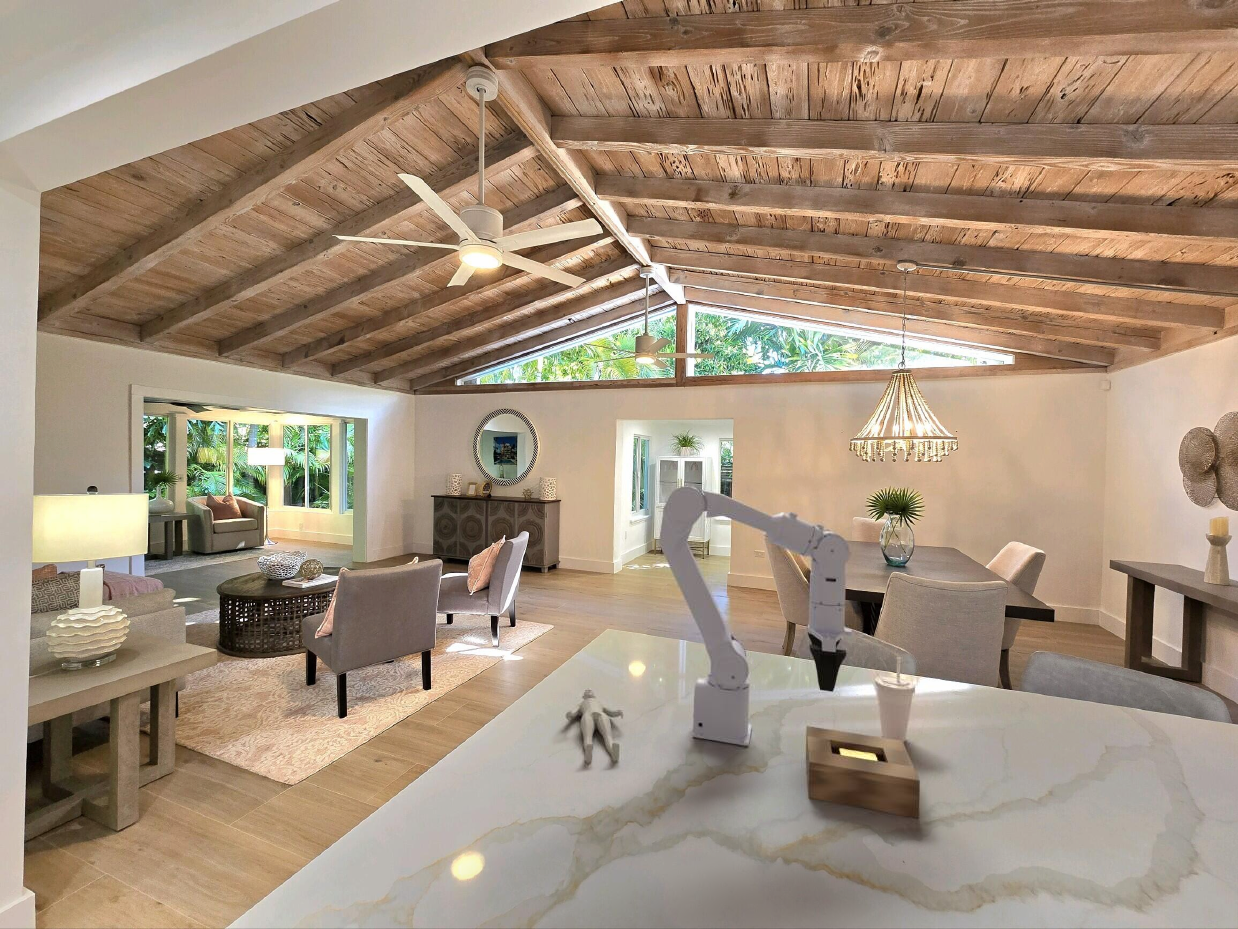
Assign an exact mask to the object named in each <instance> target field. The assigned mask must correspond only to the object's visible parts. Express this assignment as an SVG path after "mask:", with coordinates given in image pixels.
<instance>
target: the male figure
mask: <svg viewBox="0 0 1238 929" xmlns="http://www.w3.org/2000/svg"><path fill="white" fill-rule="evenodd" d="M594 693H595V692H594V691H593V689H591V688H587V689H586V690H584V693H583V695H582V696H581V698H582V699H583V700H582V702H580V703H579V704H577V705H576V706H574V708H572V710H568V711H566V713H565V718H566V719H567V720H568V722H569V721H570V720H573V719H575V718H577V717H581V719H580V728H581V731H582V736H583V749H584V759H585V762H586V764H587V763H588V764H589V763H592V761H593V751H594V743H593V734H594V731H595V730H598V732H599V733H600V735H601V736H602V737H603V741H604V744H605V748H606V750H607V751H608V753H609V754H610V755H611V759H612V761H613V762H619V758H620V749H621V748H620V744H619V743H618V742H616V741H614V740H613V733H612V724H611V720H610V718H613V719H614V718H618V717H620V718H621V719H623V718H624V711H623V710H622V709H612V708H610V707H609V706H608V705H606V704H604V703H602V702H601V701H600V700H599V699H597V698H596V695H595V694H594ZM609 717H610V718H609ZM621 719H620V720H621Z"/></svg>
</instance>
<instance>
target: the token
mask: <svg viewBox="0 0 1238 929" xmlns="http://www.w3.org/2000/svg"><path fill="white" fill-rule="evenodd" d="M839 755H845V756H851V757H857V758H863V759H869V760H875V761H878V760H877V758H876V755H875V754H873V753H867V752H860V751H854V750H847V749H841V748H839Z"/></svg>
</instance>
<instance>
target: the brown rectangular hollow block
mask: <svg viewBox="0 0 1238 929" xmlns="http://www.w3.org/2000/svg"><path fill="white" fill-rule="evenodd" d="M839 748H841V749H847V750H854V751H860V752H867V753H873V754H875V755H876V758H877V760H878V761H875V760H869V759H863V758H857V757H851V756H845V755H839ZM805 764H806V767H805V768H806V782H807V795H808V796H807V797H808V798H809V799H813V800H819V801H823V802H828V803H829V802H830V803H836V804H840V805H846V806H852V807H854V808H855V807H856V808H862V809H867V810H872V811H878V812H882V813H883V812H884V813H888V814H892V815H898V816H902V817H903V816H904V817H909V818H914V819H919V818H920V795H921V794H920V792H921V789H920V788H921V787H920V786H921V785H920V783H921V781H920V778H919V776H918V773H917V771H916V769H915V767H914V764H913V762H912V760H911V758H910V755H909V752H908V750H907V749H906V746H905V744H904V742H903V741H901V740H894V739H888V738H883V737H882V736H874V735H865V734H862V733H861V734H860V733H856V732H855V733H854V732H849V731H848V732H847V731H841V730H834V729H827V728H824V727H823V728H821V727H815V726H809V725H806V737H805Z"/></svg>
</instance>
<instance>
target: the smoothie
mask: <svg viewBox="0 0 1238 929" xmlns="http://www.w3.org/2000/svg"><path fill="white" fill-rule="evenodd" d="M901 659H902V658H901V657H896V676H889V675H882V676H877V677H876V678H875V682H874V686H875V687H876V689H877V690H876V693H877V698H878V699H877V702H878V709H879V710H878V712H879V719H880V730H881V737H882V736H883V737H882V738H888V739H894V740H901V741H903V743H904V742H906V738H907V733H908V732H907V731H908V725H909V720H910V714H911V707H912V703H913V702H912V701H913V694H915V693H916V685H915V684H914V682H912V681H909V680H907V679H904V678H902V677H901Z"/></svg>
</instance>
